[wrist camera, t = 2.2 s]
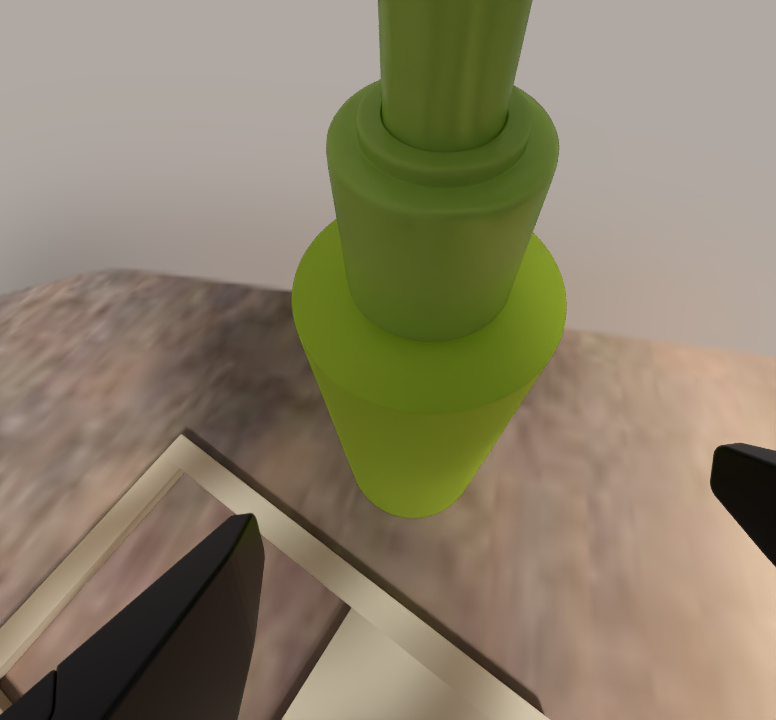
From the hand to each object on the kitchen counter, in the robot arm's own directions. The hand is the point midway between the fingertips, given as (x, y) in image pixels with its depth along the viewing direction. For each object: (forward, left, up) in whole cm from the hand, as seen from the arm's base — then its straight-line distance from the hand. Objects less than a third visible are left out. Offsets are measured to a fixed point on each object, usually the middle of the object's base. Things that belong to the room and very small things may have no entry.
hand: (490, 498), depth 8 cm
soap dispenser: (+3, -3, -12) cm, 13 cm away
